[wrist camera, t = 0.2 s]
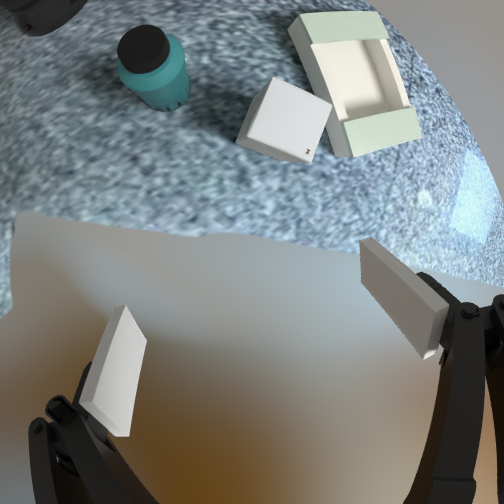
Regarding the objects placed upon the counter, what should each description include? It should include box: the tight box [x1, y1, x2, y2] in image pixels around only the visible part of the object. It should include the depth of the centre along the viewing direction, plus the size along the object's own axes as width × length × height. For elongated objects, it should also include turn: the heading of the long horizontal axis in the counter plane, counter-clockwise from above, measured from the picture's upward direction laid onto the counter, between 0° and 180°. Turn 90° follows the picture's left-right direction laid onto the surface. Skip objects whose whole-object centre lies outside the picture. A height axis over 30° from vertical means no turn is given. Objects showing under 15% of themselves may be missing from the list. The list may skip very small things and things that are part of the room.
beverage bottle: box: [117, 25, 191, 113], centre depth 24 cm, size 6×7×20 cm
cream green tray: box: [287, 11, 422, 158], centre depth 33 cm, size 22×14×6 cm, turn 20°
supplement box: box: [235, 77, 332, 163], centre depth 31 cm, size 7×7×13 cm
